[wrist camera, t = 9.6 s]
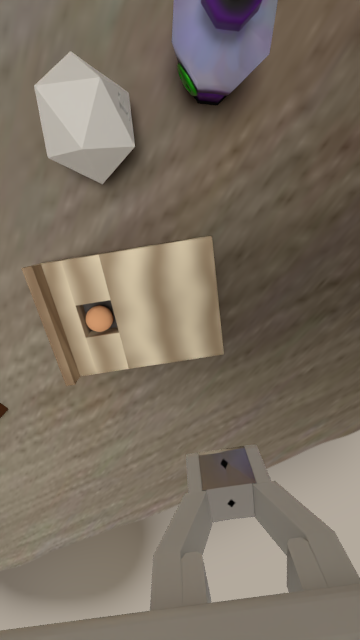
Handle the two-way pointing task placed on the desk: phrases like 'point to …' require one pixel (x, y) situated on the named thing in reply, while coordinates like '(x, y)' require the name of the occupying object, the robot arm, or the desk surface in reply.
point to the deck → (130, 307)
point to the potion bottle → (220, 43)
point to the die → (84, 118)
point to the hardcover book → (2, 409)
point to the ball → (99, 318)
